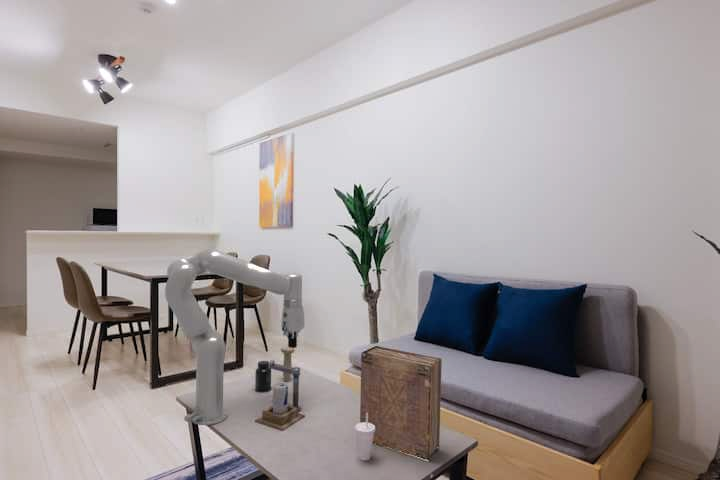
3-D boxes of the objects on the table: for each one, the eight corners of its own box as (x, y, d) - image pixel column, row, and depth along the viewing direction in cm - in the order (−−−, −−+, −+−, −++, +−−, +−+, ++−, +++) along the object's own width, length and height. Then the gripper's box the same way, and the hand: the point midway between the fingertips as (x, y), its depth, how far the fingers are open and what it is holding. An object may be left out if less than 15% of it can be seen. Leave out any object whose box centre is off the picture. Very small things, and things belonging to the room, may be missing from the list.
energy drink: (289, 415, 154) (290, 384, 154) (282, 421, 149) (283, 389, 149) (277, 413, 156) (277, 382, 155) (269, 419, 151) (270, 387, 150)
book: (439, 449, 134) (442, 358, 133) (428, 462, 126) (431, 366, 125) (373, 428, 147) (374, 345, 146) (359, 438, 139) (361, 351, 139)
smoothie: (368, 465, 124) (369, 419, 123) (350, 458, 127) (351, 414, 127) (378, 455, 129) (379, 411, 129) (361, 449, 133) (362, 406, 132)
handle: (289, 383, 188) (289, 351, 187) (278, 380, 191) (279, 348, 191) (295, 380, 192) (296, 348, 192) (285, 377, 195) (285, 346, 195)
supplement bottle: (269, 385, 185) (269, 359, 184) (272, 391, 178) (272, 364, 178) (254, 387, 182) (254, 360, 182) (256, 393, 176) (256, 365, 175)
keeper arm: (301, 374, 160) (301, 366, 160) (296, 376, 158) (297, 368, 158) (272, 367, 168) (272, 359, 168) (267, 369, 165) (267, 361, 165)
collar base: (282, 431, 144) (283, 392, 143) (254, 421, 150) (255, 384, 150) (312, 412, 159) (313, 377, 159) (286, 404, 165) (286, 370, 165)
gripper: (288, 307, 161) (288, 353, 162) (310, 301, 174) (310, 344, 175) (273, 305, 165) (273, 350, 165) (296, 299, 178) (296, 341, 178)
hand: (292, 347), depth 170 cm, fingers closed
